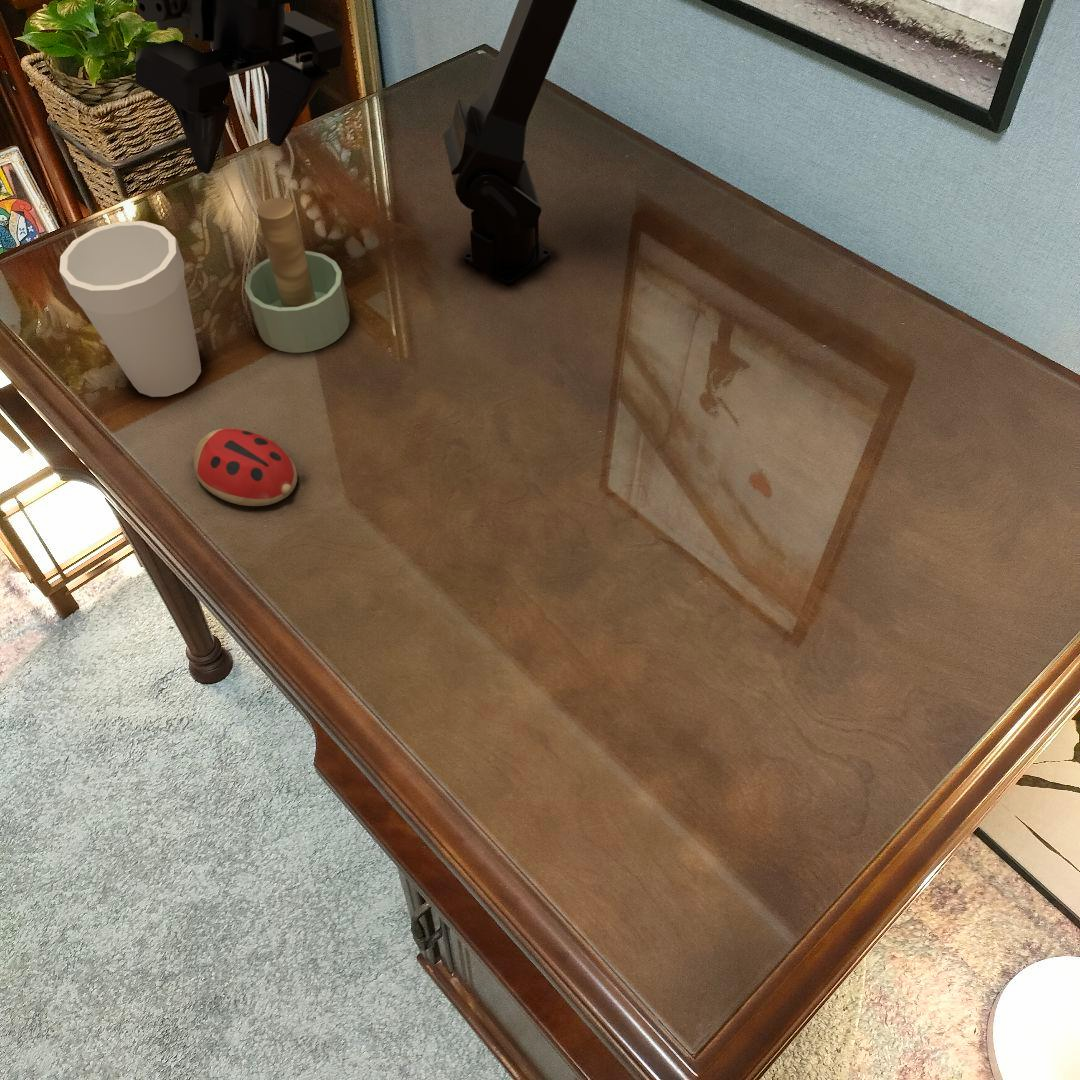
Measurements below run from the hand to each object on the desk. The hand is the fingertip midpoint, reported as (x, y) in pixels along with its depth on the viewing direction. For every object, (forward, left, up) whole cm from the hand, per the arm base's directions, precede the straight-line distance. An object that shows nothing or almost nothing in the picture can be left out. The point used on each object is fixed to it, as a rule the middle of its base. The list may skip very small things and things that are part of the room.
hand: (240, 157), depth 89 cm
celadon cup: (+1, +5, -15) cm, 16 cm away
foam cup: (+14, +1, -15) cm, 21 cm away
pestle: (+1, +5, -14) cm, 15 cm away
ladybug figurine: (+17, +17, -15) cm, 28 cm away
